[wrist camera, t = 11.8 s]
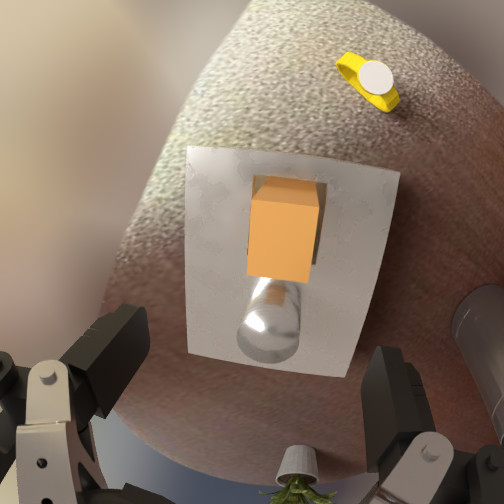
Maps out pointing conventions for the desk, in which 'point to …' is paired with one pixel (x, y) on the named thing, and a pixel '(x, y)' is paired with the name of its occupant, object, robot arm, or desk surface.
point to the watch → (369, 80)
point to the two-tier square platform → (275, 290)
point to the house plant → (298, 477)
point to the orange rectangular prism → (283, 229)
